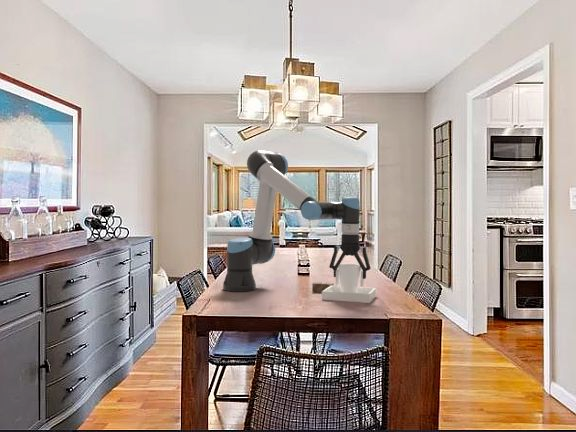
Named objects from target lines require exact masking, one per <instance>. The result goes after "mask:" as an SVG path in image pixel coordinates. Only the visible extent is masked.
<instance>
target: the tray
mask: <svg viewBox="0 0 576 432" xmlns="http://www.w3.org/2000/svg"><path fill="white" fill-rule="evenodd" d="M376 296H377V288H376V287H364V286H363V287H361V286H358V290H357V293H348V292H341V285H335V284H334V285H331V286H329V287H328V288H326V289H325V290H323V291H322V292H321V300H323V301H326V300H327V301H335V302H336V301H340V302H350V303H351V302H352V303H363V304H364V303H365V304H370V303H371V302H372V301H373V300H374V299H375V298H376Z"/></svg>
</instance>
